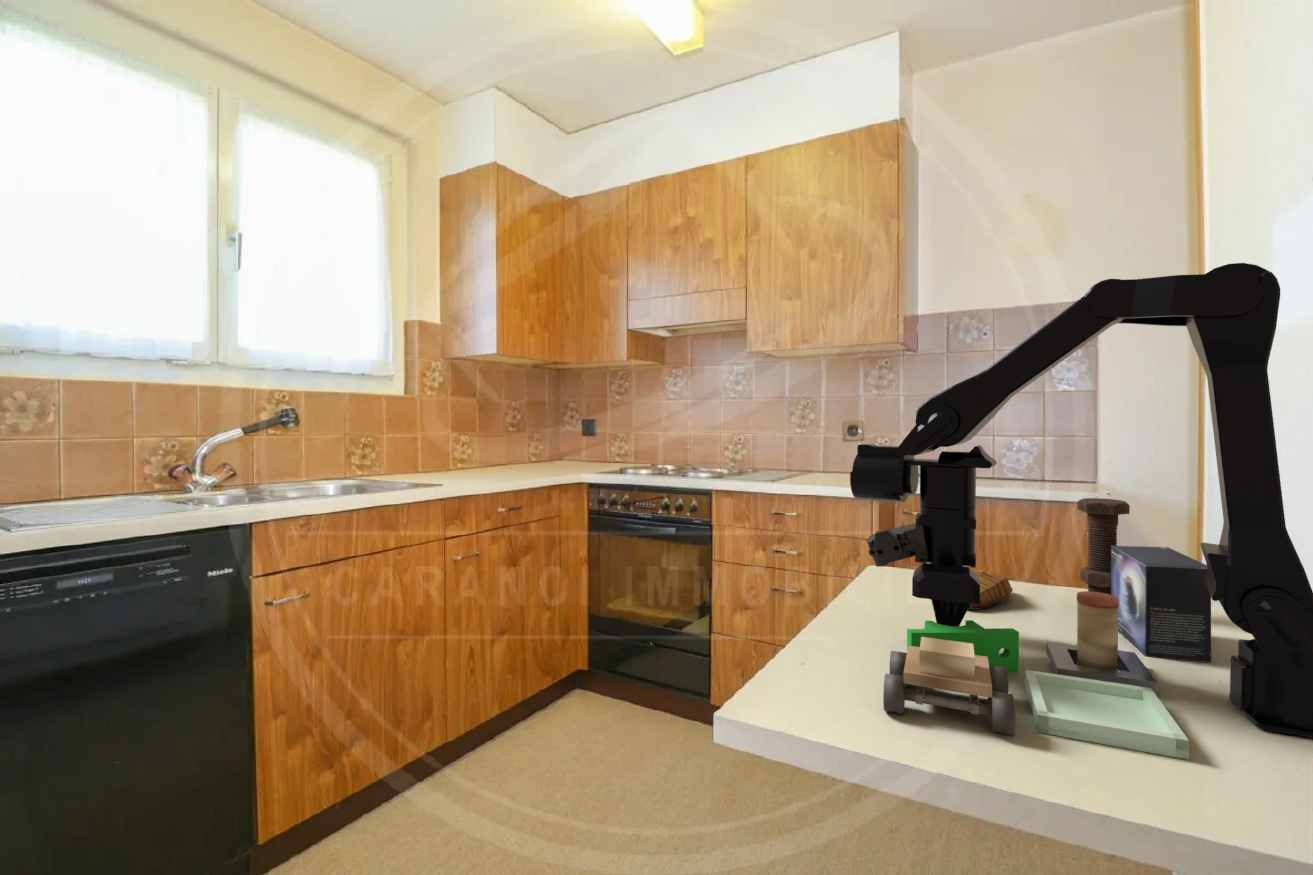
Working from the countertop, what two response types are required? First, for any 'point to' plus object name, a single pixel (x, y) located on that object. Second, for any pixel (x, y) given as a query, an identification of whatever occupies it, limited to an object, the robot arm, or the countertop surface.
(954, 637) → the pipe clamp
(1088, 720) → the tray
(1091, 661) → the pin
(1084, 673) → the socket
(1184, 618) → the small box
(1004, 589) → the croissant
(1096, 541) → the bolt
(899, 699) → the toy car
